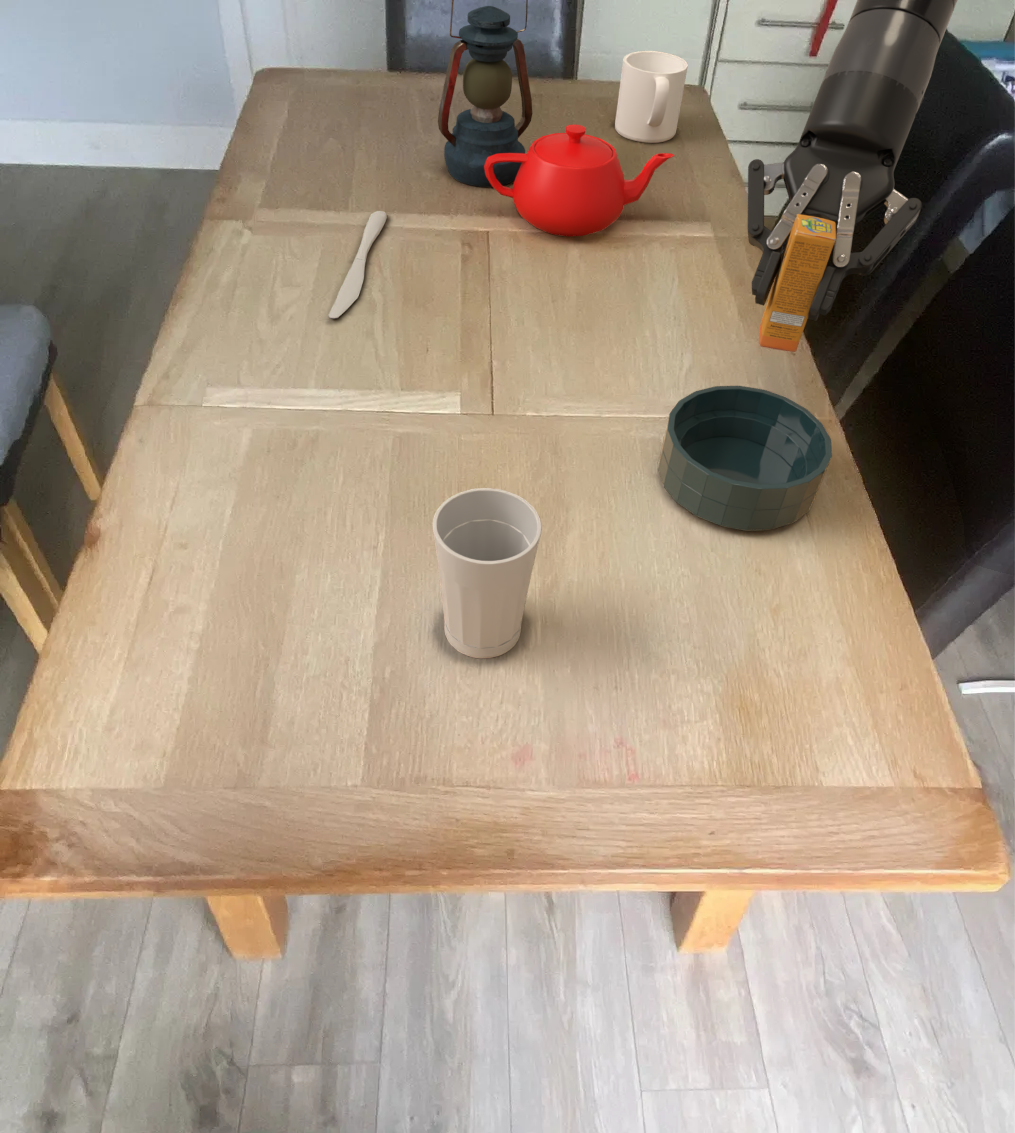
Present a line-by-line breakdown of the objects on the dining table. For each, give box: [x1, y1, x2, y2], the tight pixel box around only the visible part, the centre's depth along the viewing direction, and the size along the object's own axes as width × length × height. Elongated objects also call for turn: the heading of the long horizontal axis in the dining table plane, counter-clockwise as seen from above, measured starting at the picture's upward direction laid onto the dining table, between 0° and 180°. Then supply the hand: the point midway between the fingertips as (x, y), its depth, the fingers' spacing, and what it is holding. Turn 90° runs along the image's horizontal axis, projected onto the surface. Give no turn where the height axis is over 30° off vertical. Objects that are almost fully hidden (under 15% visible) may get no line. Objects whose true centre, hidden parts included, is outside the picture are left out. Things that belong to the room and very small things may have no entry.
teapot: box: [484, 124, 675, 238], centre depth 121 cm, size 25×16×12 cm, turn 90°
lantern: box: [437, 0, 534, 188], centre depth 121 cm, size 14×12×35 cm
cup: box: [432, 487, 543, 659], centre depth 70 cm, size 8×8×12 cm
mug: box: [614, 50, 689, 144], centre depth 143 cm, size 13×10×10 cm
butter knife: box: [327, 210, 388, 320], centre depth 114 cm, size 1×27×3 cm
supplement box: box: [758, 214, 836, 353], centre depth 71 cm, size 3×3×10 cm
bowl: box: [657, 385, 833, 532], centre depth 87 cm, size 15×15×6 cm
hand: (786, 308), depth 71 cm, fingers closed on supplement box, 3 cm apart
